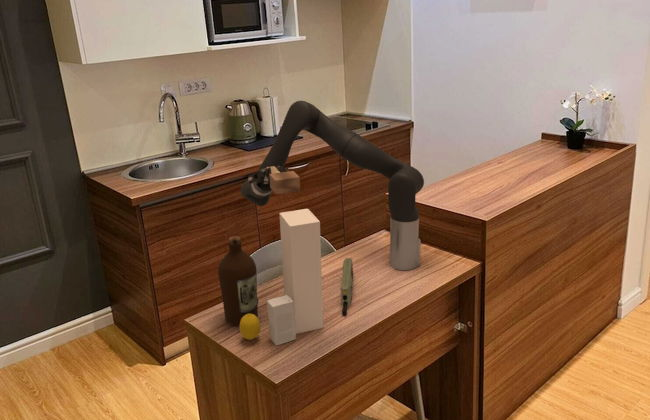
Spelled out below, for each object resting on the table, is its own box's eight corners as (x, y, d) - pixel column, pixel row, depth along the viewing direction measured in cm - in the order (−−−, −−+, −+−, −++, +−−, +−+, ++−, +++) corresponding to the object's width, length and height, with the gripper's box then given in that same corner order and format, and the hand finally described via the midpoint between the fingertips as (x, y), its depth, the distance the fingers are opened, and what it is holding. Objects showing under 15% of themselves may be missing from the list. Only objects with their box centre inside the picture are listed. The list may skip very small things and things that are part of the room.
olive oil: (215, 318, 166) (206, 239, 157) (243, 303, 174) (236, 227, 165) (240, 331, 160) (232, 250, 151) (267, 315, 167) (262, 236, 158)
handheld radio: (354, 276, 189) (350, 317, 166) (344, 276, 189) (339, 317, 166) (353, 257, 186) (349, 296, 163) (343, 257, 187) (337, 297, 164)
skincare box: (289, 332, 159) (287, 293, 155) (296, 339, 156) (294, 301, 151) (269, 338, 156) (266, 299, 152) (275, 346, 153) (272, 307, 148)
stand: (311, 310, 169) (307, 208, 158) (323, 327, 160) (319, 221, 149) (285, 315, 167) (279, 212, 155) (295, 333, 158) (290, 226, 146)
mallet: (282, 171, 176) (281, 158, 175) (300, 190, 160) (299, 177, 158) (259, 174, 174) (258, 161, 173) (275, 194, 158) (275, 180, 156)
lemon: (244, 347, 153) (241, 321, 150) (238, 336, 158) (235, 311, 155) (264, 342, 155) (262, 316, 152) (257, 331, 160) (255, 306, 157)
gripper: (241, 173, 184) (249, 160, 168) (283, 168, 189) (295, 154, 172) (245, 196, 183) (254, 185, 167) (287, 190, 188) (299, 179, 171)
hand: (274, 169), depth 170 cm, fingers closed on mallet, 2 cm apart
